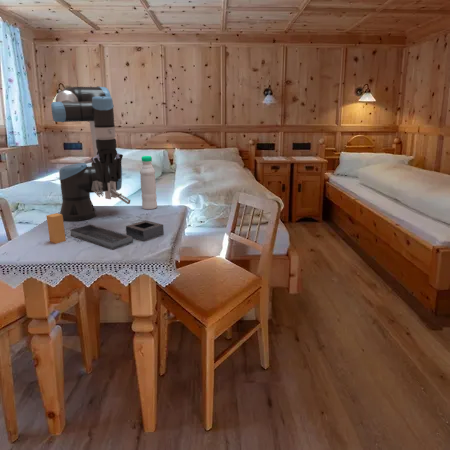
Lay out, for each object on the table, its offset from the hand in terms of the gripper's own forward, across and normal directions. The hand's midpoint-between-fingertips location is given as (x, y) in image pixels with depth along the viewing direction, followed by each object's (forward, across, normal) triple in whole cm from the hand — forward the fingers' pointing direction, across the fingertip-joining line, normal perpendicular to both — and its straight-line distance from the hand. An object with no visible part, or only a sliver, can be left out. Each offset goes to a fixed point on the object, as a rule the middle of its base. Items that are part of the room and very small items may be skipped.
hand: (111, 197), depth 163 cm
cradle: (+12, -12, -9) cm, 19 cm away
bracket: (+1, 0, 0) cm, 1 cm away
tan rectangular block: (+12, -23, +2) cm, 27 cm away
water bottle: (+13, +31, +12) cm, 36 cm away
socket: (+12, +1, -19) cm, 22 cm away
